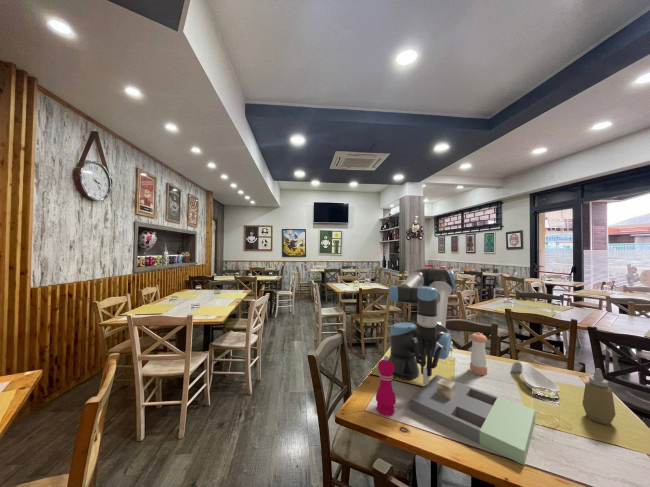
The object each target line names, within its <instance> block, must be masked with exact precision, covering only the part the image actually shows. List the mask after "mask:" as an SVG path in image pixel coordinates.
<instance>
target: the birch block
mask: <svg viewBox="0 0 650 487" xmlns="http://www.w3.org/2000/svg"><path fill="white" fill-rule="evenodd" d="M437 394H438V395H440V396H443V397H445V398H447V399H450V400H451V399H452V398H453V396H454V395H455V383H454V382H451V381H448V380H446V379H443V378H442V379H440V380H439V381H438V382H437Z"/></svg>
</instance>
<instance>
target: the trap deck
mask: <svg viewBox="0 0 650 487" xmlns="http://www.w3.org/2000/svg"><path fill="white" fill-rule="evenodd" d="M442 378H443V379H446V380H448V381H451V382H454V383H455V395H454V396H453V398H452V399H451V400H450V399H447V398H445V397H443V396H440V395H438V394H437V382H438V381H439V380H440V379H442ZM409 410H410V411H412V412H414V413H416V414H418V415H421V416H422V417H424V418H426V419H428V420H431V421H433V422H435V423H437V424H439V425H440V426H443V427H445V428H447V429H449V430H451V431H452V432H455V433H457V434H460V435H461V436H463V437H465V438H468V439H469V440H471V441H473V442H476V443H477V444H479V445H481V446H484V447H485V448H488V449H489V450H492V451H494V452H495V453H498V454H500V455H502V456H504V457H506V458H509V459H510V460H513V461H514V462H516V463H519V464H521V465H522V466H525V464H526V462H527V456H528V453H529V448H530V444H531V439H532V437H533V432H534V428H535V423H536V409H534V408H531V407H528V406H525V405H523V404H520V403H517V402H513V401H511V400H509V399H505V398H503V397H501V396H497V395H494V394H491V393H489V392H486V391H484V390H481V389H478V388H475V387H472V386H470V385H467V384H464V383H461V382H458V381H456V380H452V379H450V378H447V377H444V376H441V375H438V374H436V375H435V376H434V377H432V379H431V378H430V379H429V383H428V384H427V385H426V384H424V385H423V386H422V387H421V388H420V389H419V390H418V391H416V392H415V393H414V394H413V395H412V396H410V398H409Z"/></svg>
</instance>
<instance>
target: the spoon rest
mask: <svg viewBox="0 0 650 487" xmlns="http://www.w3.org/2000/svg"><path fill="white" fill-rule="evenodd" d="M511 372H515V373H522V379H523V382H524V383H525V385H526V387H528V389H530V390H532V388H533V387H542V388H547V389H550V390H552V391H554V392H556V394H557V393H559V392H560V390H561V389H560V387H559V386H558V384H556V383H555V382H554V381H552V380H551V378H549V377H547V376H546V375H545V374H543V373H542V372H541V371H539V370H538V369H536V368H535V367H534V366H532V365H531V364H530V363H528V362H525V361H515V362H513V363H512V366H511Z"/></svg>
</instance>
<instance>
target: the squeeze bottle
mask: <svg viewBox="0 0 650 487" xmlns="http://www.w3.org/2000/svg"><path fill="white" fill-rule="evenodd" d="M614 401H615V400H614V395H613V389H611V387H609V381H608V380H607V379H604V376H603V373H602V370H601V368H597V367H596V368H595V371H594V374H593V375H590V376H588V381H586V382H585V384H584V390H583V398H582V406H583V409H584V412H585V414H586V417H587V418H588V419H590V420H592V421H593V422H596V423H598V424H601V425H607V426H608V425H609V426H610V425H611V423H612V422H613V420H614V418H615V417H616V415H617V414H616V409H615V402H614Z"/></svg>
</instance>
